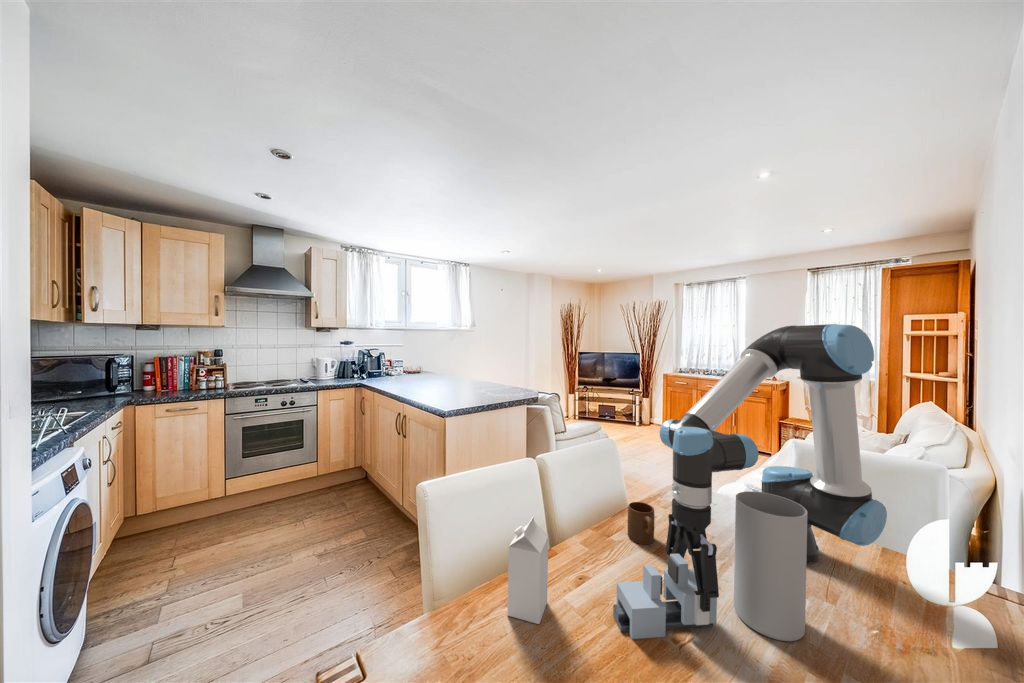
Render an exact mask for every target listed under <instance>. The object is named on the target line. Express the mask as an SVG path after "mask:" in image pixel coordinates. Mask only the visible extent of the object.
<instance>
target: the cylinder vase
mask: <svg viewBox="0 0 1024 683" xmlns="http://www.w3.org/2000/svg"><path fill="white" fill-rule="evenodd" d="M734 515H735V517H734V518H735V521H734V524H735V526H734V567H733V568H734V569H733V570H734V571H733V572H734V574H733V575H734V576H733V578H734V579H733V608H734V610H735V612H736V615H737V616H738V617H739V619H740V620H741V621H742V622H743V623H744V624H746V625H747V626H748V627H749V628H751V630H753V631H756V632H757V633H759V634H761V635H763V636H765V637H768V638H769V639H774V640H777V641H783V642H793V641H795V642H796V641H798V640H800V639H802V638H803V637H804V635H805V633H806V606H807V605H806V603H807V600H806V598H807V596H806V595H807V563H806V559H807V510H806V509H805V508H804V507H803V506H802V505H800V504H798V503H796V502H794V501H792V500H790V499H787V498H784V497H781V496H777V495H773V494H769V493H763V492H762V491H741V492H738V493H736V495H735V514H734Z"/></svg>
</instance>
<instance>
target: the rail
mask: <svg viewBox="0 0 1024 683" xmlns="http://www.w3.org/2000/svg"><path fill="white" fill-rule="evenodd" d="M662 602H663V604H664V605H665V607H666V625H665V630H673V629H674V630H675V629H677V630H678V629H689V628H690V629H691V628H704V627H707V628H708V627H714V623H709V625H696V624H692V625H683V623H682V622H681V604H680V603H679V602H678V600H667V601H662ZM612 611H613V613H612V616H613V619H614V622H615V623H616V625H617V627H618V629H619V631H620V633H630V618H629V617H628V615H627V613H626V611H625V609H624V608H623V606H622V604H613V607H612Z"/></svg>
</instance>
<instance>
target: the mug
mask: <svg viewBox="0 0 1024 683" xmlns="http://www.w3.org/2000/svg"><path fill="white" fill-rule="evenodd" d="M627 536H628V538H629V540H631V541H633V542H634V543H637V544H640V545H649V544H652V543H653V542H654V539H655V508H654V507H653V506H652V505H650V504H648V503H646V502H640V501H633V502H629V504H628V506H627Z"/></svg>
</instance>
